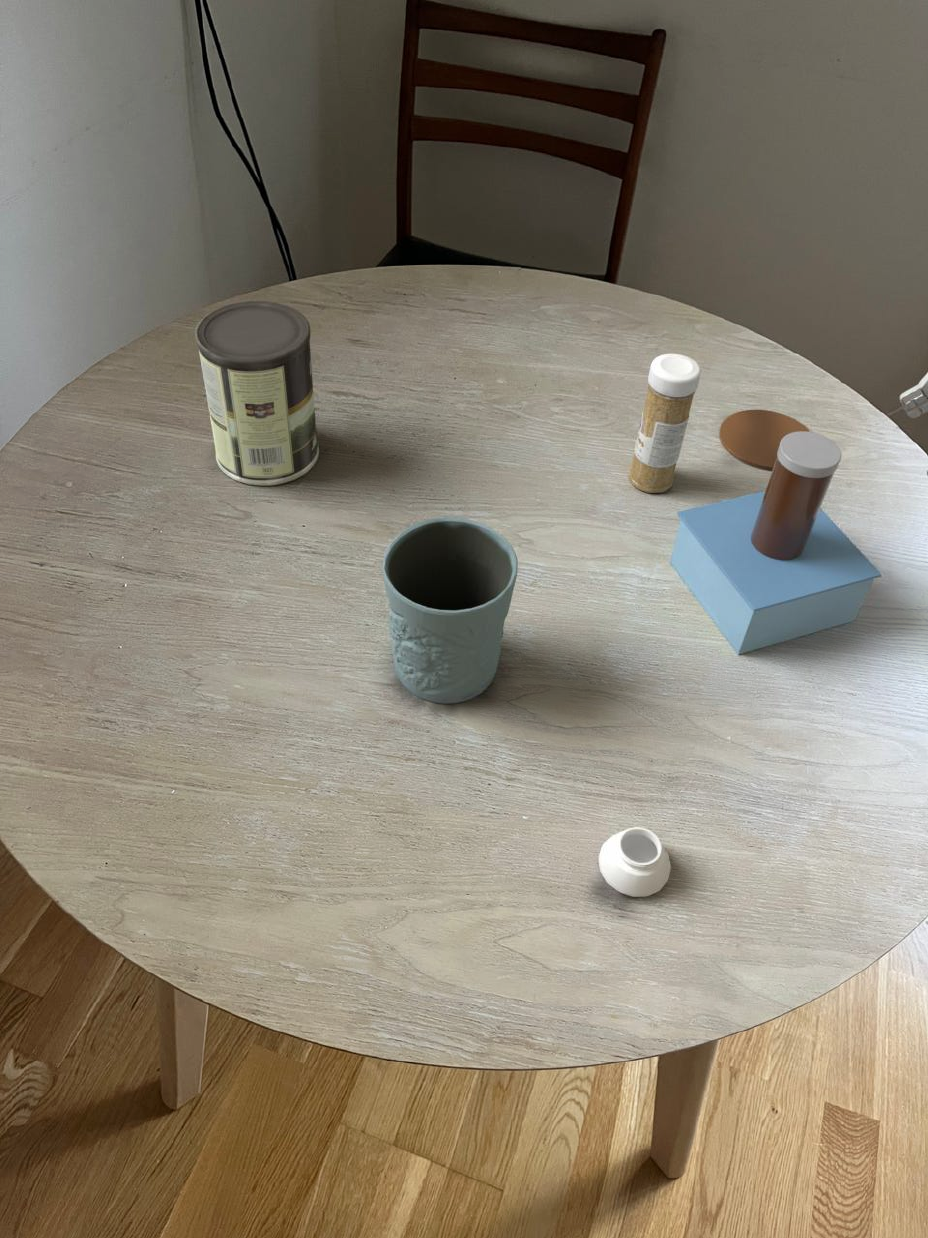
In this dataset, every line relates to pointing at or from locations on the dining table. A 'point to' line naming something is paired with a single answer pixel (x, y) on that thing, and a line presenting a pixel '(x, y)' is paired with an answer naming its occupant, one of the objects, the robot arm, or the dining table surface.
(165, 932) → the dining table surface
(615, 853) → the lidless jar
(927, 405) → the robot arm
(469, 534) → the embossed green cup
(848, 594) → the storage box
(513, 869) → the dining table surface
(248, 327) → the coffee can
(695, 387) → the sprinkles bottle
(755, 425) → the brown coaster
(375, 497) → the dining table surface
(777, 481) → the cylinder
